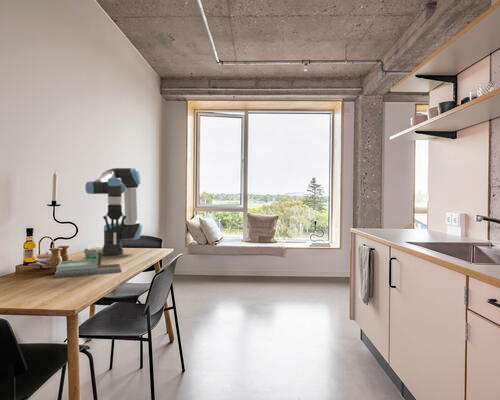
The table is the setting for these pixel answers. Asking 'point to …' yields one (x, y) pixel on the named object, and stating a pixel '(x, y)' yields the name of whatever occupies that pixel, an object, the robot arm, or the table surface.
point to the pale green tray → (78, 264)
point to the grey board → (90, 271)
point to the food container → (93, 255)
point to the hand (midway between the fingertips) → (114, 244)
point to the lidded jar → (43, 257)
